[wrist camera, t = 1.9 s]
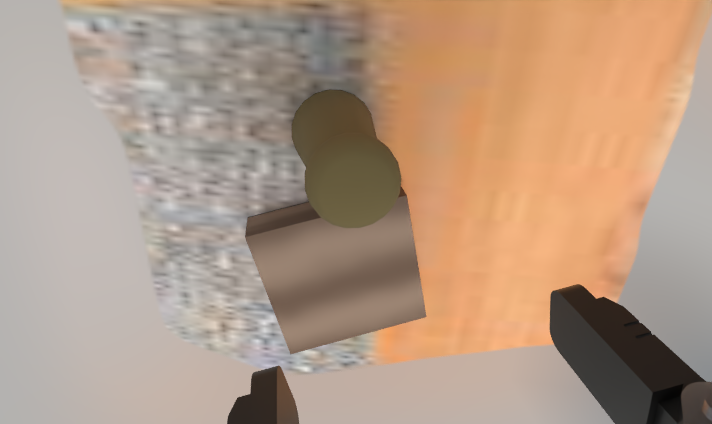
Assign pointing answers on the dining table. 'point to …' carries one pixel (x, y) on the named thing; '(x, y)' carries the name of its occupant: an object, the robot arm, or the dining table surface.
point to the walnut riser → (336, 273)
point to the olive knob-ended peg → (344, 160)
